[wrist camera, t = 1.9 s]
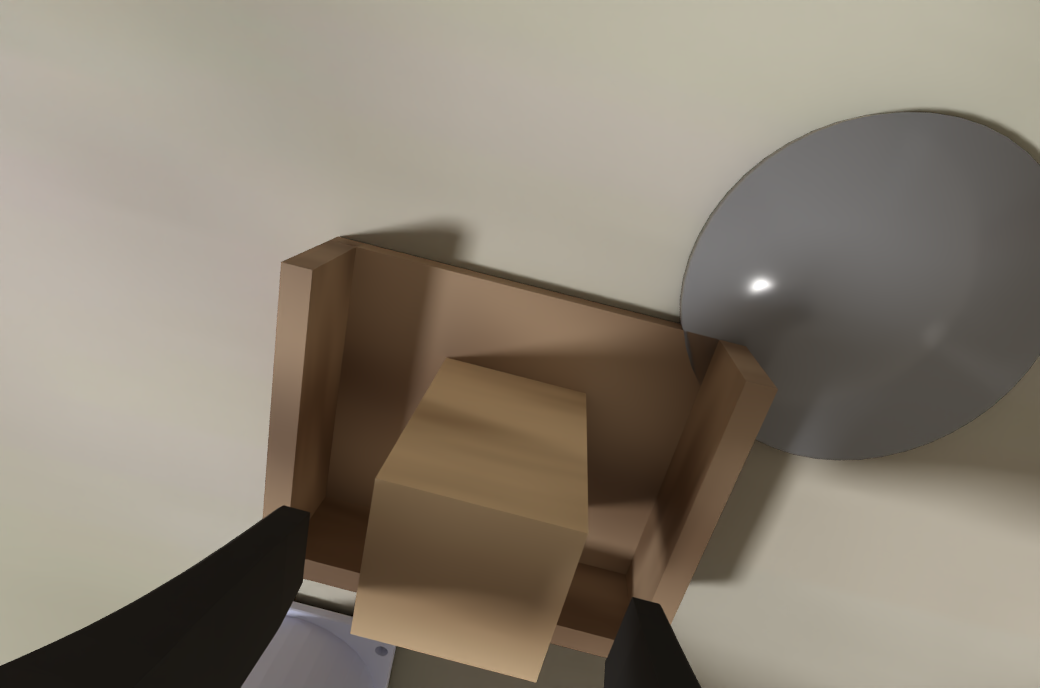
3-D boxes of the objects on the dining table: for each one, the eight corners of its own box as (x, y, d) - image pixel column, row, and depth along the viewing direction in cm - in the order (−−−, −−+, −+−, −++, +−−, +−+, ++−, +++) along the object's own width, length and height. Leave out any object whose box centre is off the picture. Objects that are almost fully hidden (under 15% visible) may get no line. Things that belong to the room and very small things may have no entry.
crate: (639, 584, 21) (650, 669, 17) (309, 498, 21) (259, 566, 18) (740, 339, 17) (778, 389, 14) (338, 236, 17) (281, 262, 14)
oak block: (550, 507, 19) (536, 682, 13) (422, 474, 19) (350, 633, 13) (586, 393, 17) (588, 533, 11) (446, 357, 18) (375, 478, 12)
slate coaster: (939, 483, 18) (950, 494, 17) (636, 405, 18) (638, 414, 18) (1137, 166, 14) (1159, 167, 14) (754, 70, 14) (761, 68, 14)
